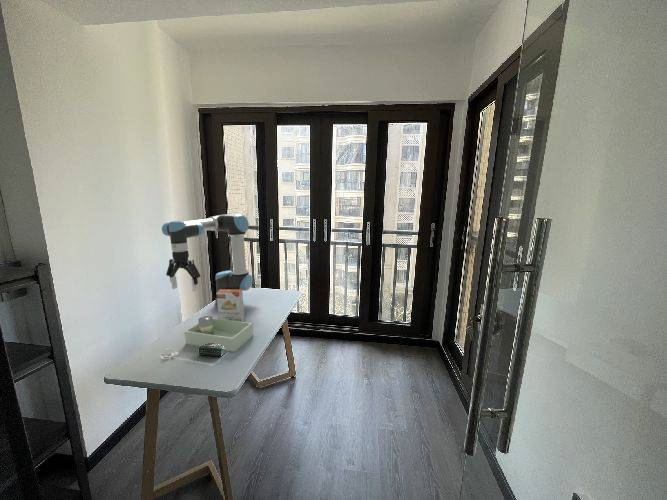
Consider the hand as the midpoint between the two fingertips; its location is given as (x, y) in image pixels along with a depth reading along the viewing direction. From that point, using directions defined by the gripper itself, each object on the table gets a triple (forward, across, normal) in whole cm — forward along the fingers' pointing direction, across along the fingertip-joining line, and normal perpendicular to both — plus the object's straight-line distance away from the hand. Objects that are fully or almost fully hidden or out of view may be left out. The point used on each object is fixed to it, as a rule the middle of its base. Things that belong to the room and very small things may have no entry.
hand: (184, 289), depth 149 cm
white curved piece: (+29, +5, -20) cm, 35 cm away
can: (+27, +10, +1) cm, 29 cm away
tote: (+28, +19, +1) cm, 34 cm away
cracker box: (+28, +12, +21) cm, 37 cm away
